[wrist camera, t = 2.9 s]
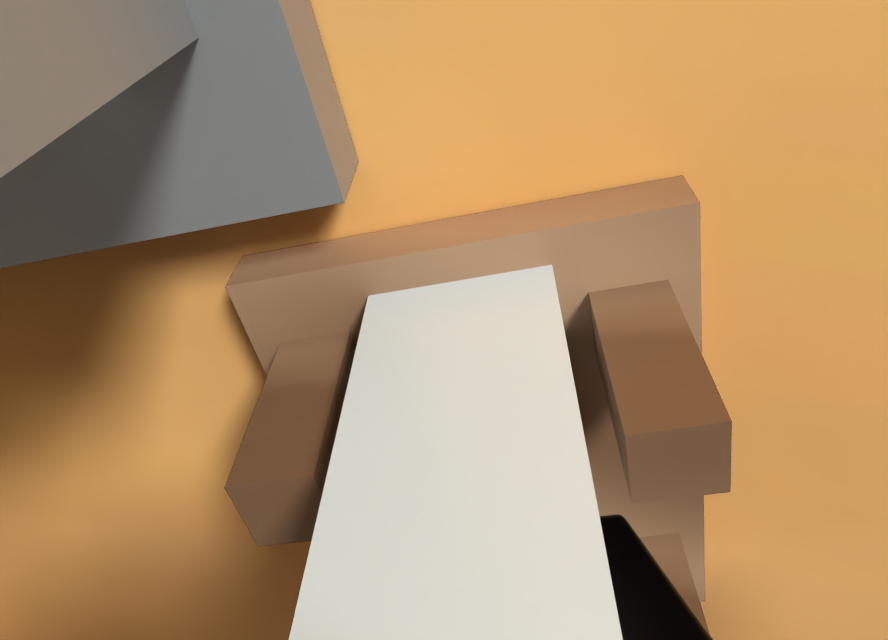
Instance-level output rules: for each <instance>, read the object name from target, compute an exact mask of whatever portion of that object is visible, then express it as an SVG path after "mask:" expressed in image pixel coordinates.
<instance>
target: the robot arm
mask: <svg viewBox="0 0 888 640" xmlns="http://www.w3.org/2000/svg"><path fill="white" fill-rule="evenodd" d="M600 521H601V527H602V532H603V537H604V542H605V548H606V553H607V558H608V564H609V569H610V574H611V580H612V585H613V590H614V596H615V601H616V606H617V611H618V617H619V622H620V627H621V633H622V638H623V640H713V639H712V637H711V636H710V635H709V633H708V632H707V631H706V629H705V628H704V626H703V625H702V624H701V622H700V621H699V620H698V618H697V617H696V615H695V614H694V613H693V611H692V610H691V608H690V607H689V606H688V604H687V603H686V602H685V600H684V599H683V597H682V596H681V595H680V593H679V592H678V590H677V589H676V588H675V586H674V585H673V584H672V582H671V581H670V579H669V578H668V577H667V575H666V574H665V572H664V571H663V570H662V568H661V567H660V566H659V564H658V563H657V561H656V560H655V559H654V557H653V556H652V555H651V553H650V552H649V550H648V549H647V548H646V546H645V545H644V543H643V542H642V541H641V539H640V538H639V537H638V535H637V534H636V532H635V531H634V530H633V528H632V527H631V525H630V524H629V523H628V521H627V520H626V519H625V518H624V517H623V516H622V515H619V514H615V515H606V516H600Z"/></svg>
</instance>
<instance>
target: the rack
mask: <svg viewBox="0 0 888 640" xmlns="http://www.w3.org/2000/svg"><path fill="white" fill-rule="evenodd" d="M358 163H359V161H358V158H357V155H356V152H355V148H354V145H353V142H352V138H351V135H350V132H349V128H348V125H347V122H346V118H345V115H344V112H343V109H342V105H341V102H340V99H339V95H338V92H337V89H336V85H335V82H334V79H333V75H332V72H331V69H330V65H329V62H328V59H327V56H326V52H325V49H324V46H323V42H322V39H321V36H320V32H319V29H318V26H317V22H316V19H315V16H314V13H313V9H312V6H311V3H310V0H0V268H5V267H10V266H15V265H20V264H25V263H31V262H36V261H41V260H46V259H52V258H57V257H62V256H67V255H72V254H78V253H83V252H88V251H93V250H99V249H104V248H109V247H114V246H119V245H125V244H130V243H135V242H140V241H145V240H151V239H156V238H161V237H166V236H172V235H177V234H182V233H187V232H192V231H198V230H203V229H208V228H213V227H219V226H224V225H229V224H234V223H239V222H245V221H250V220H255V219H260V218H265V217H271V216H276V215H281V214H286V213H292V212H297V211H302V210H307V209H312V208H318V207H323V206H328V205H333V204H338V203H344V202H345V199H346V196H347V194H348V191H349V188H350V185H351V182H352V180H353V177H354V174H355V171H356V168H357V166H358Z"/></svg>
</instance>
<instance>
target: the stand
mask: <svg viewBox="0 0 888 640" xmlns="http://www.w3.org/2000/svg"><path fill="white" fill-rule="evenodd" d="M547 265H552V267H553V272H554V277H555V283H556V288H557V293H558V298H559V304H560V309H561V314H562V320H563V325H564V330H565V336H566V341H567V346H568V351H569V357H570V362H571V367H572V373H573V378H574V383H575V389H576V394H577V399H578V405H579V410H580V415H581V420H582V426H583V431H584V436H585V442H586V447H587V452H588V458H589V463H590V468H591V473H592V479H593V484H594V489H595V495H596V500H597V505H598V511H599V516H606V515H615V514H619V515H622V516H623V517H624V518H625V519H626V520H627V521H628V523H629V524H630V525H631V527H632V528H633V530H634V531H635V532H636V534H637V535H638V537H639V538H640V539H641V541H642V542H643V543H644V545H645V546H646V548H647V549H648V550H649V552H650V553H651V555H652V556H653V557H654V559H655V560H656V561H657V563H658V564H659V566H660V567H661V568H662V570H663V571H664V572H665V574H666V575H667V577H668V578H669V579H670V581H671V582H672V584H673V585H674V586H675V588H676V589H677V590H678V592H679V593H680V595H681V596H682V597H683V599H684V600H685V602H686V603H687V604H688V606H689V607H690V608H691V610H692V611H693V613H694V614H695V615H696V617H697V618H698V620H699V621H700V622H701V624H702V625H703V626H704V628H705V629H706V631H707V632H708V633H709V631H708V628H707V624H706V621H705V618H704V614H703V611H702V608H701V604H700V602H701V601H705V566H704V495H708V494H717V493H726V492H730V483H731V430H732V421H731V419H730V417H729V414H728V412H727V410H726V408H725V405H724V403H723V401H722V399H721V396H720V394H719V392H718V390H717V388H716V385H715V383H714V381H713V379H712V376H711V374H710V372H709V370H708V367H707V365H706V363H705V361H704V358H703V356H702V325H701V245H700V202H699V200H698V198H697V197H696V195H695V194H694V192H693V190H692V189H691V187H690V186H689V184H688V183H687V181H686V179H685V178H684V176H683V175H682V176H677V177H671V178H666V179H660V180H655V181H649V182H644V183H638V184H633V185H628V186H622V187H617V188H611V189H606V190H600V191H595V192H589V193H584V194H579V195H573V196H568V197H562V198H557V199H551V200H546V201H540V202H535V203H530V204H524V205H519V206H513V207H508V208H502V209H497V210H491V211H486V212H481V213H475V214H470V215H464V216H459V217H453V218H448V219H442V220H437V221H432V222H426V223H421V224H415V225H410V226H404V227H399V228H394V229H388V230H383V231H377V232H372V233H366V234H361V235H355V236H350V237H345V238H339V239H334V240H328V241H323V242H317V243H312V244H306V245H301V246H296V247H290V248H285V249H279V250H274V251H268V252H263V253H257V254H252V255H247V256H242V257H241V259H240V261H239V262H238V264H237V266H236V268H235V270H234V271H233V273H232V275H231V277H230V279H229V280H228V282H227V284H226V286H225V288H226V290H227V292H228V294H229V296H230V298H231V300H232V303H233V305H234V307H235V309H236V311H237V313H238V315H239V318H240V320H241V322H242V324H243V326H244V328H245V331H246V333H247V335H248V337H249V339H250V341H251V343H252V346H253V348H254V350H255V352H256V354H257V356H258V359H259V361H260V363H261V365H262V367H263V369H264V371H265V374H266V376H267V378H266V381H265V384H264V386H263V389H262V391H261V394H260V397H259V399H258V402H257V404H256V407H255V409H254V412H253V415H252V417H251V420H250V422H249V425H248V428H247V430H246V433H245V435H244V438H243V441H242V443H241V446H240V448H239V451H238V454H237V456H236V459H235V461H234V464H233V467H232V469H231V472H230V474H229V477H228V479H227V482H226V485H225V487H224V488H225V490H226V491H227V493H228V495H229V497H230V498H231V500H232V502H233V504H234V505H235V507H236V509H237V510H238V512H239V514H240V516H241V517H242V519H243V521H244V523H245V524H246V526H247V528H248V530H249V531H250V533H251V535H252V537H253V538H254V540H255V542H256V543H257V545H258V547H260V546H269V545H277V544H286V543H295V542H303V541H312V536H313V532H314V528H315V523H316V519H317V515H318V510H319V506H320V502H321V498H322V493H323V489H324V485H325V480H326V476H327V472H328V467H329V463H330V459H331V454H332V450H333V446H334V441H335V437H336V433H337V428H338V424H339V420H340V415H341V411H342V407H343V402H344V398H345V394H346V389H347V385H348V381H349V376H350V372H351V368H352V363H353V359H354V355H355V350H356V346H357V342H358V338H359V333H360V329H361V325H362V320H363V316H364V312H365V307H366V303H367V299H368V296H370V295H376V294H382V293H388V292H393V291H399V290H405V289H411V288H417V287H423V286H429V285H435V284H441V283H447V282H452V281H458V280H464V279H470V278H476V277H482V276H488V275H494V274H500V273H505V272H511V271H517V270H523V269H529V268H535V267H541V266H547ZM709 635H710V634H709Z"/></svg>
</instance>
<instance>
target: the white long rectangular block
mask: <svg viewBox="0 0 888 640" xmlns="http://www.w3.org/2000/svg"><path fill="white" fill-rule="evenodd" d="M289 640H623V638H622V633H621V627H620V622H619V617H618V611H617V606H616V601H615V596H614V590H613V585H612V580H611V574H610V569H609V564H608V558H607V553H606V548H605V542H604V537H603V532H602V527H601V521H600V516H599V511H598V505H597V500H596V495H595V489H594V484H593V479H592V473H591V468H590V463H589V458H588V452H587V447H586V442H585V436H584V431H583V426H582V420H581V415H580V410H579V405H578V399H577V394H576V389H575V383H574V378H573V373H572V367H571V362H570V357H569V351H568V346H567V341H566V336H565V330H564V325H563V320H562V314H561V309H560V304H559V298H558V293H557V288H556V283H555V277H554V272H553V267H552V265H547V266H541V267H535V268H529V269H523V270H517V271H511V272H505V273H500V274H494V275H488V276H482V277H476V278H470V279H464V280H458V281H452V282H447V283H441V284H435V285H429V286H423V287H417V288H411V289H405V290H399V291H393V292H388V293H382V294H376V295H370V296H368V299H367V303H366V307H365V312H364V316H363V320H362V325H361V329H360V333H359V338H358V342H357V346H356V350H355V355H354V359H353V363H352V368H351V372H350V376H349V381H348V385H347V389H346V394H345V398H344V402H343V407H342V411H341V415H340V420H339V424H338V428H337V433H336V437H335V441H334V446H333V450H332V454H331V459H330V463H329V467H328V472H327V476H326V480H325V485H324V489H323V493H322V498H321V502H320V506H319V510H318V515H317V519H316V523H315V528H314V532H313V536H312V541H311V545H310V549H309V554H308V558H307V562H306V567H305V571H304V575H303V580H302V584H301V588H300V593H299V597H298V601H297V606H296V610H295V614H294V619H293V623H292V627H291V632H290V636H289Z"/></svg>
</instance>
